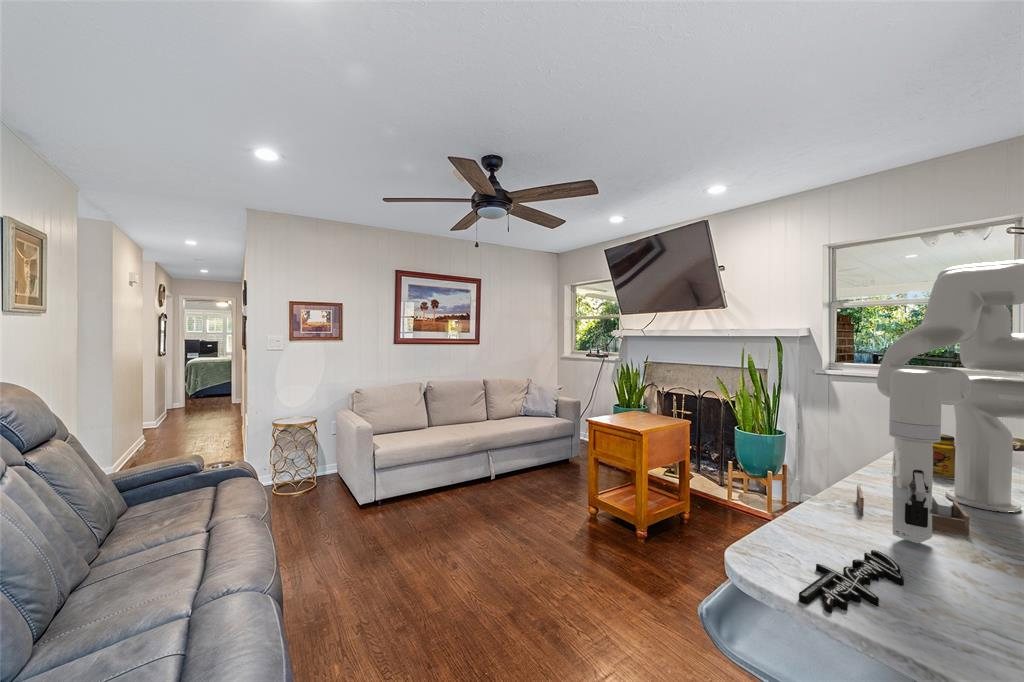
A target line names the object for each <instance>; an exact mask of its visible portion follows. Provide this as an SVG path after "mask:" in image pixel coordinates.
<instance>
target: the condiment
mask: <svg viewBox="0 0 1024 682" xmlns="http://www.w3.org/2000/svg"><path fill="white" fill-rule="evenodd" d="M955 443H956V437H954V436H952V435H948V434H943V433H941V441H940V442H937V443H933V477H935V478H941V479H949V480H955Z"/></svg>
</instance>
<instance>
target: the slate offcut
mask: <svg viewBox="0 0 1024 682" xmlns="http://www.w3.org/2000/svg"><path fill="white" fill-rule="evenodd" d="M950 505H951V504H950V503H949V502H948V500H946V498H945V497H941V496H940V497H939V496H934V495H932V514H934V515H940V516H945V517H951V506H950Z"/></svg>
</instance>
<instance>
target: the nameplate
mask: <svg viewBox="0 0 1024 682" xmlns="http://www.w3.org/2000/svg"><path fill="white" fill-rule="evenodd" d="M863 554H864V556H863V557H864V559H863V560H862V559H853V560H852V565H851V566H844V567H843V573H840V572H838V571H837V570H834V569H832V568H830V567H828V566H825V565H823V564H820V563H815V571H816V572H817V571H818V572H817V573H819V572H820V574H822V576H820V577H819V578H818V579H816V580H815V581H814V582H812V583H811V584H809V585H808V586H806V587H805V588H804V589H802V590H801V591H799V592H798V601H799V603H801V604H804V605H809V604H811V602H813V601H814V600H815V599H817V598H818V597H819V596H821V601H822V603H823V606H824V607H823V609H824V611H825V612H827V613H828V614H832V613H833V608H838V609H839V610H842V611H848V609H849V606H848V604H849V602H850V601H852V602H854V603H856V604H860V603H862V599H863V600H864V601H866V602H867V603H868V604H870V605H872V604H873V605H872V606H874V605H875V606H874V607H879V605H880V604H879V603H880V598H879V597H878V596H877V595H876V594H875V593H873V592H872V591H870V590H869V589H868V588H867V587H866V585H867V586H871V581H875V582H880V579H882V580H883V579H887V580H888V581H890V582H892V583H893V584H896V585H898V586H902V587H903V586H904V579H905V578H904V577H903V575H902V574H901V567H900V566H899V564H898V563H897V562H896V561H895V560H893V559H892V558H891V557H890V556H888V555H887V554H885V553H883V552H881V551H878V550H874V549H871V550H870V553H869V552H864V553H863Z"/></svg>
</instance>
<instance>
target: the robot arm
mask: <svg viewBox="0 0 1024 682" xmlns="http://www.w3.org/2000/svg"><path fill="white" fill-rule="evenodd" d="M1023 304H1024V259H1015V260H1013V259H1012V260H1004V261H995V262H993V261H992V262H981V263H979V262H978V263H972V264H971V263H969V264H963V265H962V264H961V265H955V266H951V267H948V268H944V269H942V270H941V271H940V272H939V273H938V275H937V276H936V280H935V282H934V283H933V286H932V290H931V292H930V296H929V299H928V302H927V305H926V309H925V312H924V314H923V318H922V320H921V324H919V325H917V326H916V327H914V328H913V329H911V330H909V331H907V332H906V333H904V334H903V335H901V336H900V337H899V338H898V339H896V340H895V341H894V342H893V343H891V344H890V345H889V347H887V349H886V350H885V353H883V354H884V355H883V357H882V360H881V363H880V366H879V369H878V372H877V377H876V386H877V390H878V391H879V392H880V394H882V395H883V396H885V397H886V398H889V415H888V416H889V421H888V422H889V424H888V435H889V437H892V438H894V440H893V450H892V451H893V452H892V469H891V477H892V479H893V476H896V485H897V486H898V487H899V488H900V489H902V488H906V491H907V503H905V523H906V524H909V525H914V526H919V527H924V528H927V527H928V504H927V493H929V492H931V491H932V490H933V479H934V476H933V443H937V442H940V441H941V434H942V431H941V430H942V405H947V406H953V408H954V414H955V415H954V416H955V444H954V445H955V479H954V487H953V488H949V489H947V490H945V496H946V497H947V498H949V499H950V500H952V502H953V501H956V502H957V503H958V504H962V505H964V506H969V507H972V508H976V509H981V510H986V511H990V510H991V511H992V512H997V511H999V513H1009V512H1008V511H1018V510H1021V511H1022V506H1021V504H1020V503H1018V502H1017V501H1015V500H1012V488H1013V487H1012V484H1013V483H1012V480H1013V453H1014V452H1013V450H1014V449H1013V447H1014V438H1013V435H1012V433H1011V431H1010V429H1009V428H1008V427H1007V426H1006V425H1005V424H1004V423H1003V422H1002V421H1001V420H1000V419H999V418H1009V419H1016V420H1024V379H1023V378H1009V377H1008V378H1007V377H999V376H997V377H996V376H985V375H983V376H982V375H979V376H978V375H973V376H969V375H968V374H966V373H965V372H964V371H962V370H960V369H955V368H952V367H950V368H949V367H937V366H936V367H935V366H922V365H906V364H907V363H908V362H910V360H911V359H913V358H915V357H917V356H919V355H921V354H925V353H927V352H931V351H935V350H937V349H942V348H946V347H950V346H953V345H957V344H958V345H959V349H958V351H959V359H960V363H961V365H962V366H963V367H964V368H966V369H968V370H971V371H978V372H986V373H987V372H988V373H989V372H990V373H1005V374H1006V373H1007V374H1019V375H1020V374H1023V375H1024V332H1021V333H1020V332H1013V331H1012V326H1011V325H1012V321H1011V317H1012V315H1011V311H1010V309H1009V308H1008V307H1007V306H1015V305H1023ZM910 486H915V489H914V488H910ZM911 492H912V493H915V494H913V495H911ZM932 492H933V491H932ZM911 497H912V498H911Z"/></svg>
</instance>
